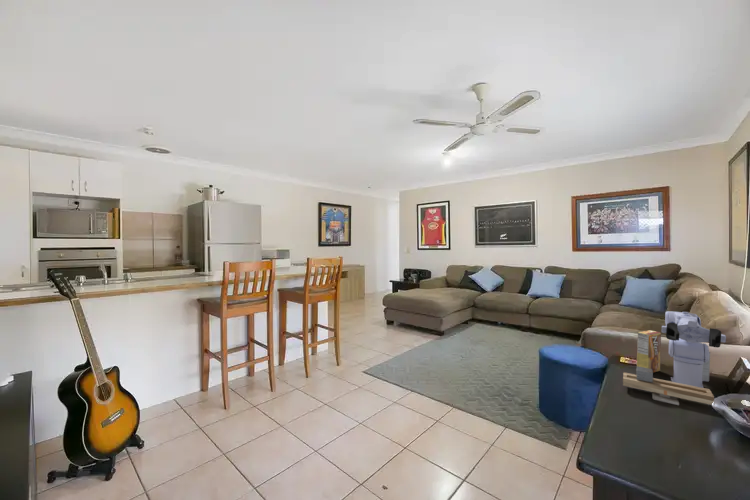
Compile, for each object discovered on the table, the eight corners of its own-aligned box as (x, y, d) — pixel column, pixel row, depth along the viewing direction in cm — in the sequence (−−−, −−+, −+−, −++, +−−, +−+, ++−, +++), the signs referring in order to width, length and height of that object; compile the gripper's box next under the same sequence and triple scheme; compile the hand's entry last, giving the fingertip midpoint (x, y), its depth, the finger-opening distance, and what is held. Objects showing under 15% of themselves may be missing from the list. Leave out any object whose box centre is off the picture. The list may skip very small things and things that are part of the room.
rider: (636, 378, 109) (636, 366, 109) (651, 381, 106) (652, 369, 106) (636, 382, 105) (636, 370, 105) (652, 386, 102) (652, 373, 102)
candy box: (647, 367, 129) (648, 329, 129) (660, 371, 125) (661, 332, 125) (636, 370, 125) (636, 331, 125) (649, 374, 122) (649, 334, 122)
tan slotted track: (623, 383, 113) (623, 371, 113) (708, 402, 99) (708, 388, 99) (622, 392, 106) (623, 379, 106) (714, 413, 92) (714, 398, 92)
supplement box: (709, 383, 116) (711, 351, 116) (690, 381, 117) (691, 349, 117) (697, 377, 121) (698, 347, 122) (679, 375, 123) (680, 345, 123)
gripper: (661, 314, 111) (663, 322, 101) (722, 322, 102) (731, 331, 91) (660, 334, 111) (662, 344, 101) (721, 344, 102) (730, 355, 92)
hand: (695, 339), depth 96 cm, fingers open, 7 cm apart
